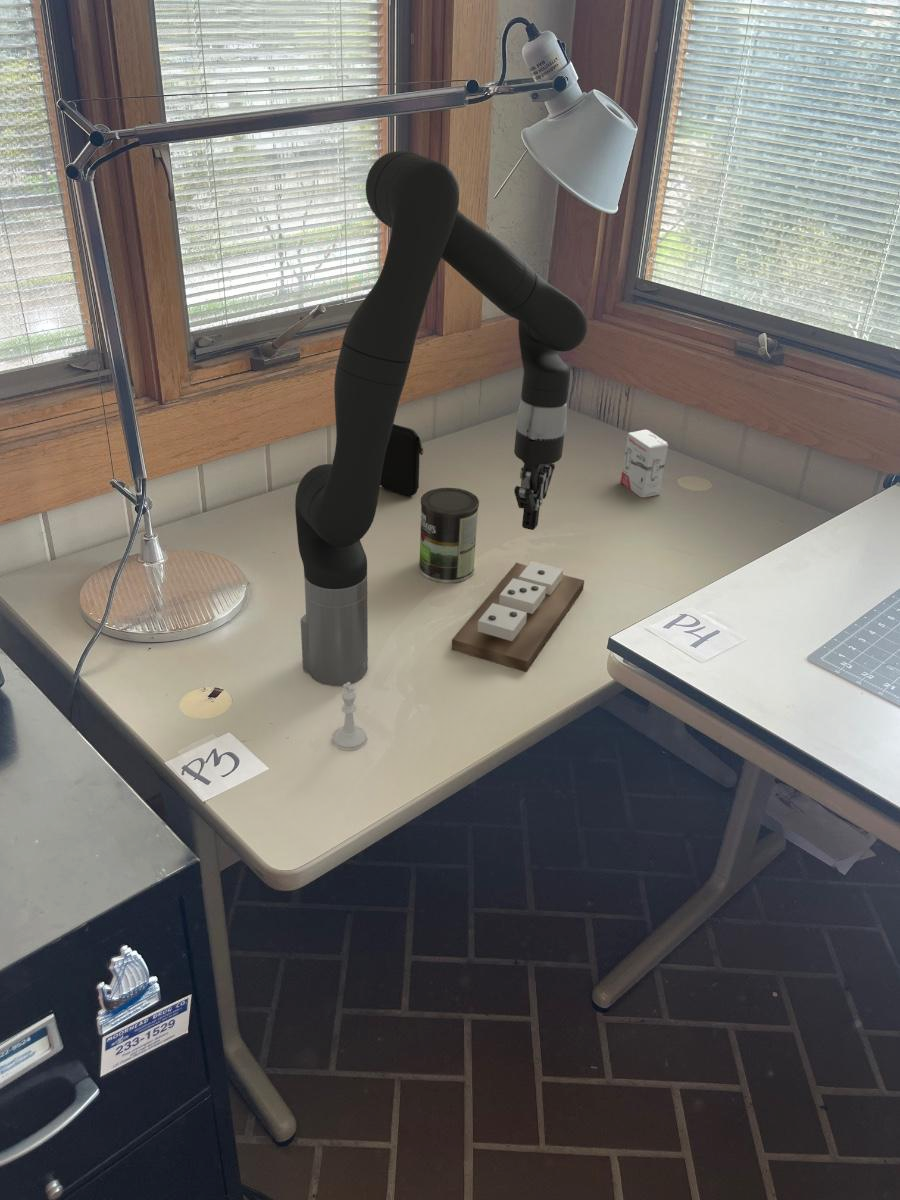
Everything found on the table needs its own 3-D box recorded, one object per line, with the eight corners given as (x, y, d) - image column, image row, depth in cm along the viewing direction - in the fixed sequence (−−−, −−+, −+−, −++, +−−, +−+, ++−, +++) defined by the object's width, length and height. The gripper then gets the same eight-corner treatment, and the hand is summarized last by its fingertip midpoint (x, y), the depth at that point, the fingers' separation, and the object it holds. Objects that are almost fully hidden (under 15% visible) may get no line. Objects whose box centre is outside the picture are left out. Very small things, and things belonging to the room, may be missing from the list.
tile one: (518, 586, 177) (519, 575, 175) (530, 570, 181) (531, 560, 180) (550, 594, 175) (551, 583, 173) (562, 579, 179) (563, 568, 178)
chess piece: (349, 724, 147) (348, 668, 141) (374, 738, 144) (374, 682, 139) (324, 740, 143) (322, 683, 138) (349, 755, 141) (348, 698, 135)
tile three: (498, 604, 169) (499, 593, 168) (512, 588, 174) (513, 577, 173) (532, 614, 167) (533, 602, 166) (545, 597, 172) (546, 585, 170)
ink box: (619, 482, 220) (626, 431, 214) (637, 478, 222) (645, 428, 215) (641, 498, 213) (649, 446, 207) (660, 495, 215) (669, 443, 209)
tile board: (451, 649, 163) (452, 639, 162) (515, 572, 185) (516, 562, 184) (526, 671, 159) (527, 661, 158) (583, 589, 181) (584, 580, 180)
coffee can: (430, 587, 180) (432, 516, 172) (411, 559, 188) (412, 491, 180) (483, 579, 183) (488, 509, 175) (462, 552, 191) (466, 484, 184)
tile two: (477, 631, 162) (478, 619, 161) (491, 613, 167) (492, 602, 166) (512, 641, 160) (513, 629, 159) (525, 622, 165) (527, 611, 163)
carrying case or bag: (425, 496, 210) (427, 430, 202) (417, 502, 208) (418, 435, 200) (383, 483, 215) (383, 418, 207) (374, 488, 212) (374, 422, 205)
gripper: (532, 409, 163) (522, 506, 172) (502, 436, 153) (493, 538, 162) (576, 419, 161) (563, 516, 170) (549, 447, 150) (537, 549, 159)
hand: (529, 527), depth 166 cm, fingers closed
